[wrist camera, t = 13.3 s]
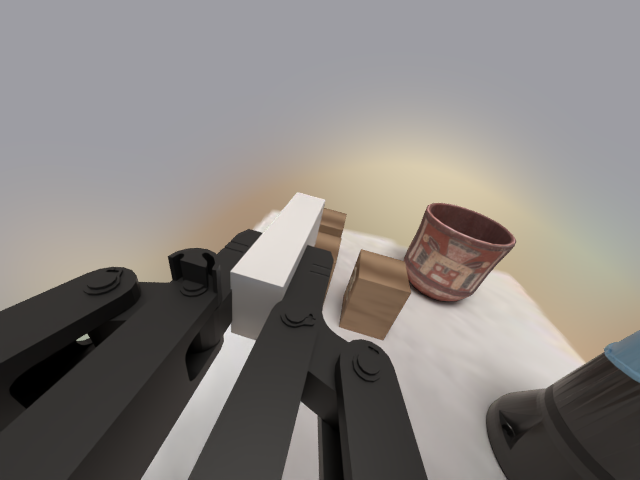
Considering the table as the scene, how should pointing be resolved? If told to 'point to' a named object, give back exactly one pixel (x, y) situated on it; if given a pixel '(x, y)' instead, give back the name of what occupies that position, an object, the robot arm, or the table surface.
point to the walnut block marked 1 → (332, 222)
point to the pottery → (454, 251)
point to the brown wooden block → (329, 248)
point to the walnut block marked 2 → (374, 294)
